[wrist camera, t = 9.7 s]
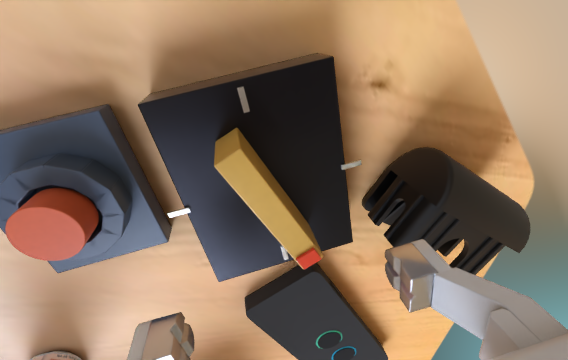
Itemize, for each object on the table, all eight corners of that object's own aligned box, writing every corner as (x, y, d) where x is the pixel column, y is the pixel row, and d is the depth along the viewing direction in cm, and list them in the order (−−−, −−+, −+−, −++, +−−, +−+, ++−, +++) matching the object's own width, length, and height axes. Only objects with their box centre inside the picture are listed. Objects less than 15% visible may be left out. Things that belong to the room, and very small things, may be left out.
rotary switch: (131, 97, 18) (115, 110, 15) (333, 48, 18) (353, 51, 16) (206, 259, 24) (204, 288, 22) (351, 217, 25) (367, 239, 23)
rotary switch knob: (214, 141, 17) (213, 168, 13) (236, 126, 17) (240, 149, 13) (290, 235, 21) (303, 272, 18) (309, 224, 21) (325, 259, 18)
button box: (-27, 136, 17) (-82, 159, 14) (109, 103, 17) (85, 118, 14) (68, 257, 22) (43, 294, 19) (172, 228, 22) (164, 259, 19)
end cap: (479, 180, 26) (553, 223, 20) (428, 237, 28) (482, 290, 23) (407, 132, 22) (473, 167, 17) (354, 201, 25) (396, 255, 19)
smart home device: (334, 391, 36) (241, 315, 26) (329, 377, 37) (240, 300, 27) (391, 360, 35) (318, 269, 25) (384, 346, 36) (312, 256, 27)
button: (13, 197, 16) (-13, 218, 14) (79, 180, 16) (61, 198, 14) (52, 244, 18) (33, 268, 16) (110, 228, 18) (98, 250, 16)
